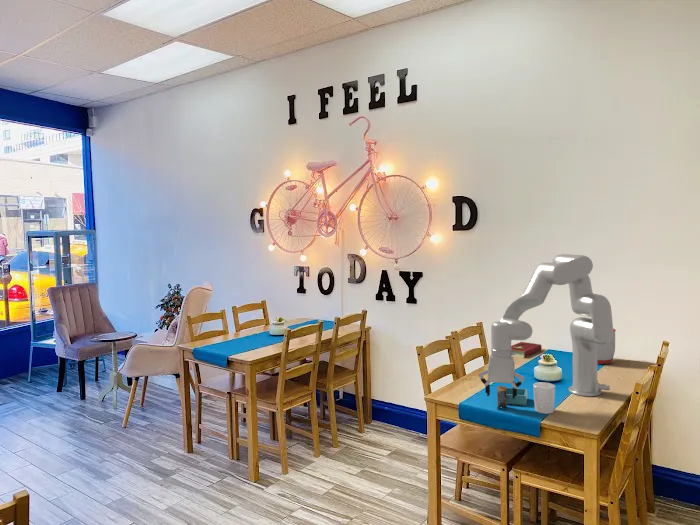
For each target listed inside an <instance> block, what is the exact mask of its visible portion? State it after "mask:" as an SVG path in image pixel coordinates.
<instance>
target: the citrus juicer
mask: <svg viewBox="0 0 700 525" xmlns="http://www.w3.org/2000/svg"><path fill="white" fill-rule="evenodd" d="M595 345H596V348H597V365H605V364H606V365H607V364H611V363H612V362H613V360H614V356H615V352H616V329H615V328H613V337H612V339H611V341H610V342H609V343H607V344H604V345H601V344H596V343H595Z"/></svg>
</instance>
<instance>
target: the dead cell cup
mask: <svg viewBox="0 0 700 525" xmlns="http://www.w3.org/2000/svg"><path fill="white" fill-rule="evenodd" d="M506 387H507V386H506ZM527 403H528V389H527V388H519V387H518V388H517V396H515V399H513V387H507V405H509V404H512V405H511V406H519V405H520V406H522V407H526V406H527Z"/></svg>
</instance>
